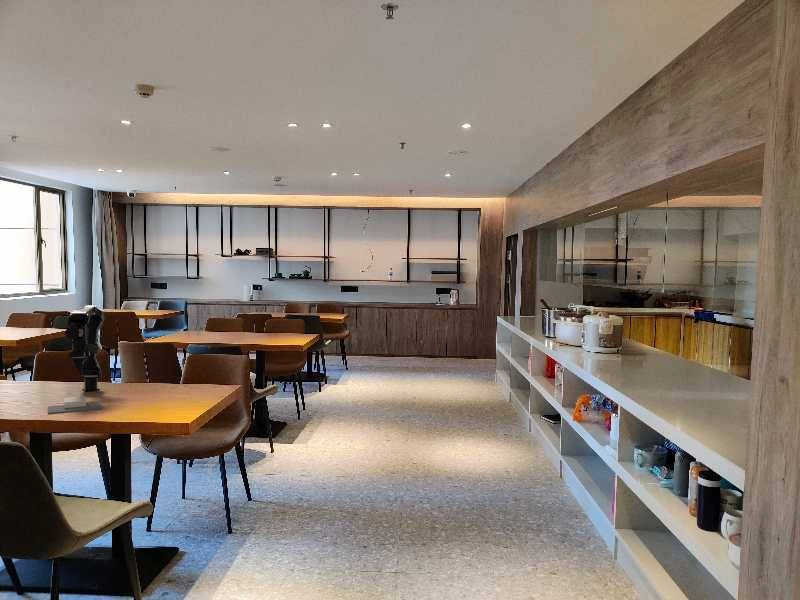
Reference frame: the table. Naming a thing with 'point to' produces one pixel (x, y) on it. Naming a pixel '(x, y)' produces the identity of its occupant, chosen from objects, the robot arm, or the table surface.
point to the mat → (62, 410)
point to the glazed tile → (74, 402)
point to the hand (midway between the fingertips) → (80, 372)
